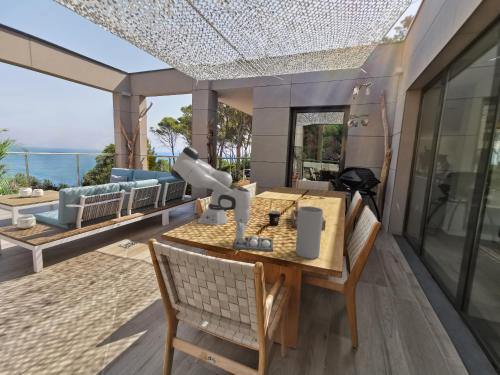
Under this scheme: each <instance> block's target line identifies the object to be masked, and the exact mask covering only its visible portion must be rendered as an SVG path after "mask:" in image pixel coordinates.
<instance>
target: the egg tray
mask: <svg viewBox="0 0 500 375" xmlns="http://www.w3.org/2000/svg"><path fill="white" fill-rule="evenodd" d="M244 237H245V242H244V243H243V244H239V243H238V242H237V239H236V238H235V240H234V244H233V245H232V249H233V250H246V251H260V252H274V238H264V237H258V241H257V242H258V245H257V246H256V247H251V246H250V241H251V237H249V236H248V237H247V236H244ZM264 240H268V241H269V242H270V246H269V248H264V247H263V246H262V242H263V241H264Z"/></svg>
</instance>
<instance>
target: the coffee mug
mask: <svg viewBox="0 0 500 375" xmlns="http://www.w3.org/2000/svg"><path fill="white" fill-rule="evenodd" d="M266 216H268V218H269V219H267V218H266ZM263 217H264V219H265V220H266V221H267V222H268V223H269V226H271V227H278V226H279V223H280V217H281V212H280V211H279V210H269V211H268V213H266V214H265V215H264V216H263Z"/></svg>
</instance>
